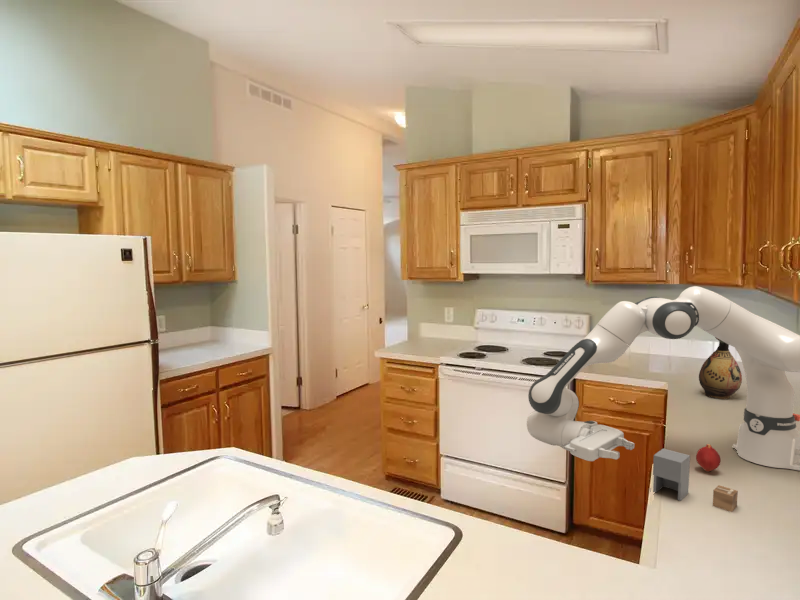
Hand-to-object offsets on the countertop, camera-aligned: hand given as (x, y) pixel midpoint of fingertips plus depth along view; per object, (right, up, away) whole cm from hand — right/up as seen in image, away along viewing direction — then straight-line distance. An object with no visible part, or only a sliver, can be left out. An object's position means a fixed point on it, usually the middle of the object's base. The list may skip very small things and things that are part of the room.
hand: (626, 451), depth 132 cm
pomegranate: (+25, -7, +5) cm, 27 cm away
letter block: (+17, -9, -14) cm, 24 cm away
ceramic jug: (+76, 0, +77) cm, 109 cm away
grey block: (+8, -8, -8) cm, 14 cm away
